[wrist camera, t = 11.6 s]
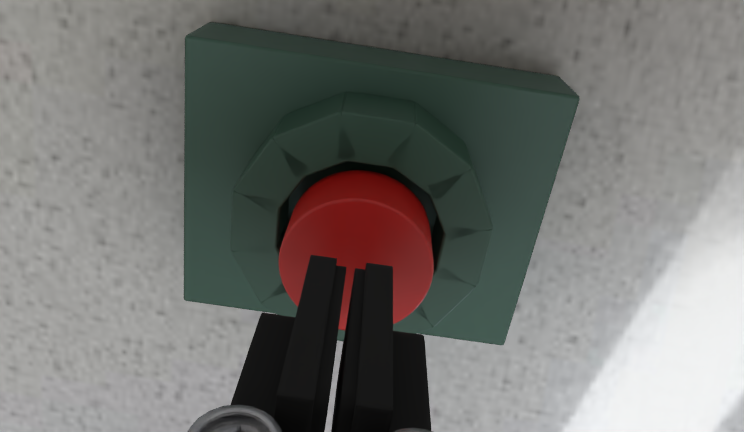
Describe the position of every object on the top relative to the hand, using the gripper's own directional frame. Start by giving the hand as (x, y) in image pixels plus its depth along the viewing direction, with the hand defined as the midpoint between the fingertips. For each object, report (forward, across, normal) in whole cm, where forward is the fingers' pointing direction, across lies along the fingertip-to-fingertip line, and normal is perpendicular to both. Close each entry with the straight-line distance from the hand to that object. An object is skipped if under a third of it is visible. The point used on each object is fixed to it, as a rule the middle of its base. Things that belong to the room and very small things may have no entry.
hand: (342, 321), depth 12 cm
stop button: (+4, 0, 0) cm, 4 cm away
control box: (+7, 0, 0) cm, 7 cm away
